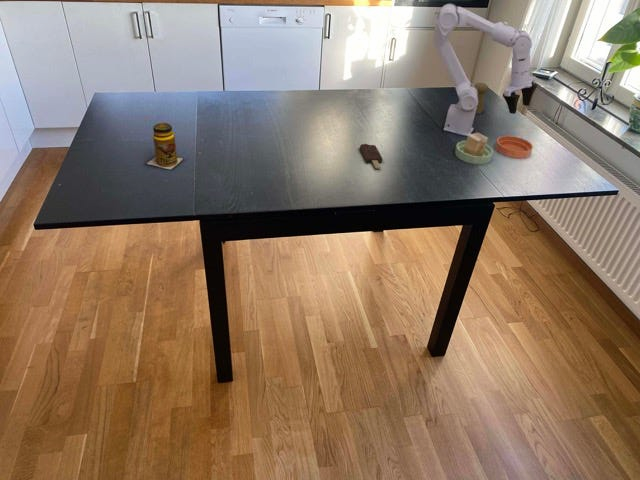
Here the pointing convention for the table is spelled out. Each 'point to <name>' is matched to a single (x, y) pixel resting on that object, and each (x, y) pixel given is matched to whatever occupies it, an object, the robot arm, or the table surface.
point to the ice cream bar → (371, 154)
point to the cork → (480, 96)
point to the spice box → (475, 144)
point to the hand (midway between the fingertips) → (519, 109)
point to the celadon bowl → (473, 159)
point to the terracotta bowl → (513, 147)
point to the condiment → (164, 147)
